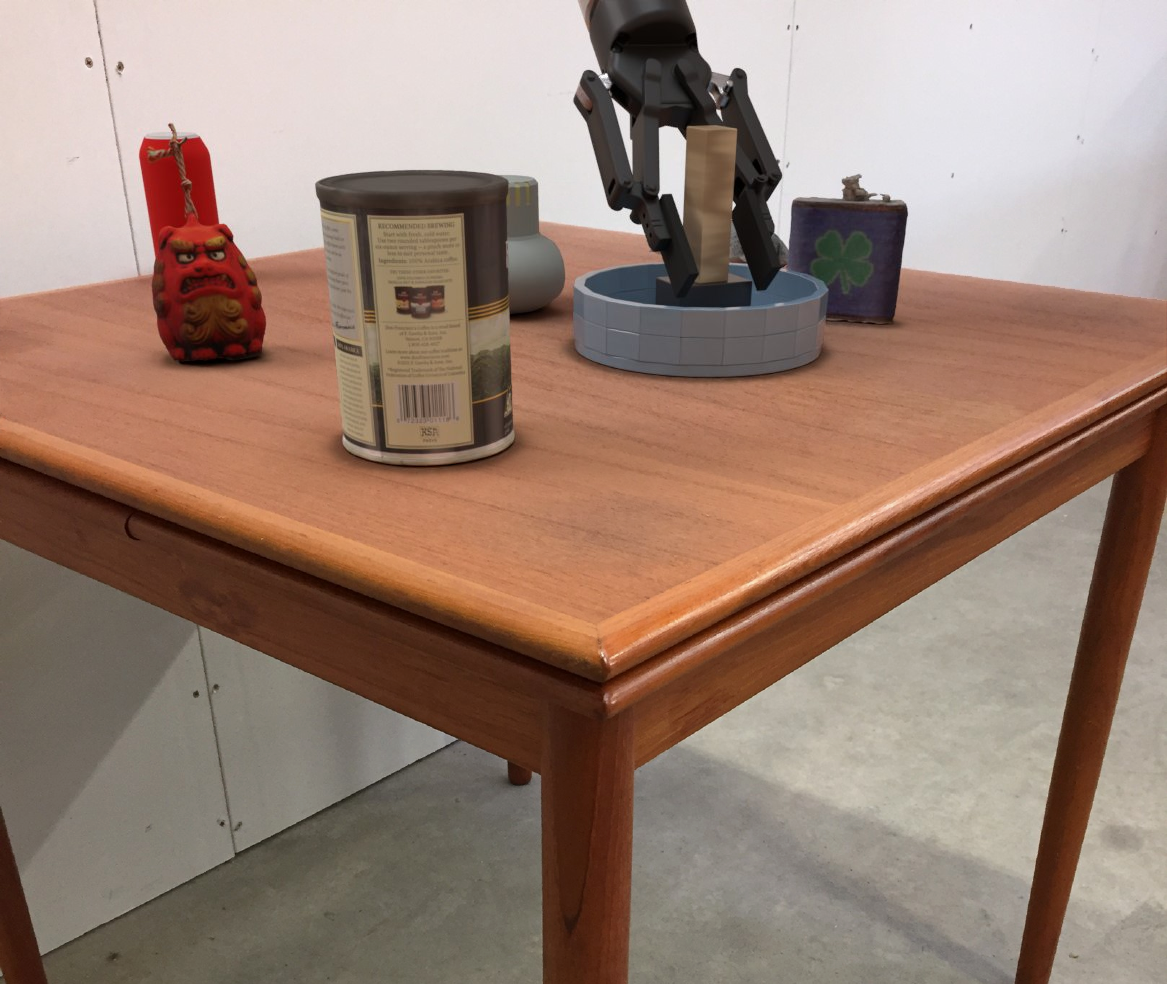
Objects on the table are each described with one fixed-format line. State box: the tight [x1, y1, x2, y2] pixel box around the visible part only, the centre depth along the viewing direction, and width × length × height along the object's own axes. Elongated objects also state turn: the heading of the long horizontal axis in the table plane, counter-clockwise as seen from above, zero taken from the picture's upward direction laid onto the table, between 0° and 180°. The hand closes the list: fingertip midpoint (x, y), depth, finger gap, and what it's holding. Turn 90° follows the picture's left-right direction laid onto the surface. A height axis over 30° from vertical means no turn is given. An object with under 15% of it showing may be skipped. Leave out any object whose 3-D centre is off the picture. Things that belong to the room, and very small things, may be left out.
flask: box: [785, 173, 909, 325], centre depth 102 cm, size 9×3×11 cm, turn 71°
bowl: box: [572, 261, 829, 378], centre depth 94 cm, size 19×19×4 cm
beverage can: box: [138, 131, 220, 258], centre depth 115 cm, size 6×6×12 cm
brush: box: [655, 125, 752, 308], centre depth 91 cm, size 6×4×13 cm, turn 114°
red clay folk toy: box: [147, 122, 267, 363], centre depth 89 cm, size 8×7×15 cm
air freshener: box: [498, 174, 566, 315], centre depth 104 cm, size 11×8×10 cm
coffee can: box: [314, 169, 516, 466], centre depth 71 cm, size 10×10×14 cm
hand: (728, 282), depth 90 cm, fingers closed on brush, 6 cm apart
